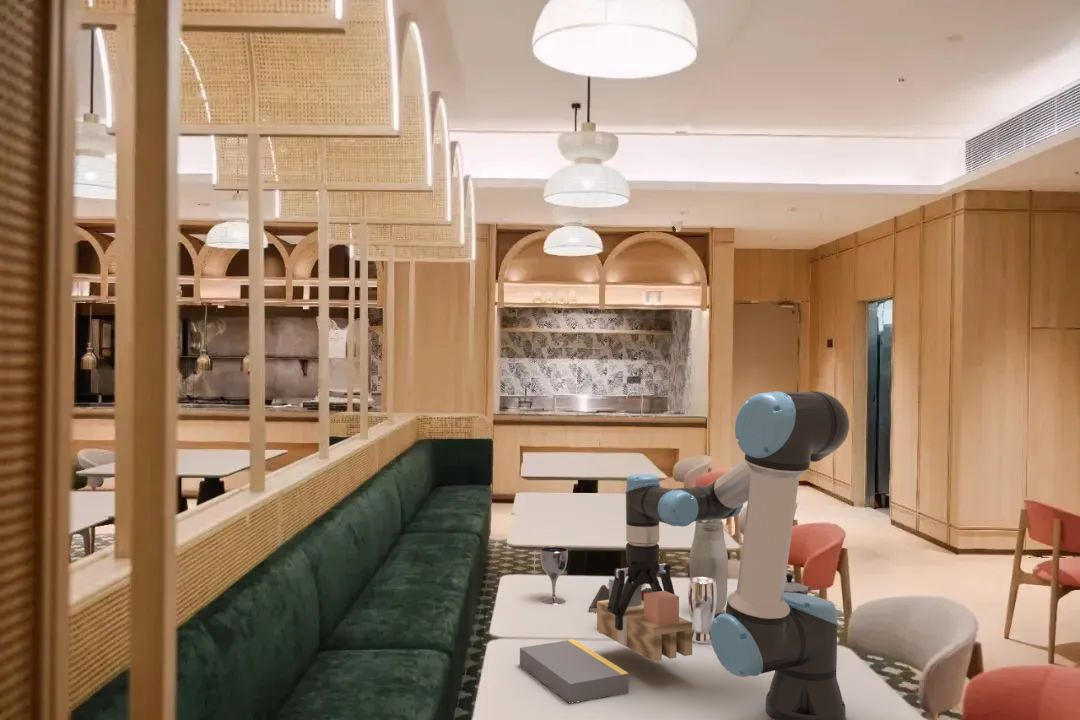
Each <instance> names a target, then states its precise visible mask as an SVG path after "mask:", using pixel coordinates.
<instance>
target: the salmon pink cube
mask: <svg viewBox="0 0 1080 720" xmlns="http://www.w3.org/2000/svg"><path fill="white" fill-rule="evenodd" d="M679 617H680V596H679V595H676V594H675V595H674V594H672V593H669V592H667V591H664V590H663V591H658V592H651V593H644V619H646V620H649V621H651V622H653V623H655V624H657V625H661V624H667V623H674V622H679Z"/></svg>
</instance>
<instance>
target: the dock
mask: <svg viewBox="0 0 1080 720" xmlns="http://www.w3.org/2000/svg"><path fill="white" fill-rule="evenodd" d="M519 667H521V668H522V669H524V670H525V671H527V672H528V673H529V674H530V675H532V676H533V677H534V678H536V679H537V680H538V681H539V682H541V683H542V684H544V685H545V686H546V687H548V689H550V691H551V690H552V692H554V693H555V694H556V695H557V696H559V695H560V696H561V697H560V696H559V697H560V698H562V699H563V698H564V699H565V700H564V699H563V700H564V701H566V700H567V701H568V702H570V703H572V702H577V701H582V700H587V701H590V700H589V699H592V700H595V699H594V698H598V699H600V698H599V697H603V698H606V697H605V696H608V697H610V696H609V695H613V696H616V695H615V694H618V695H622V694H621V693H623V694H626V693H627V692H629V691H630V689H629V687H630V684H629V683H630V681H629V680H630V673H629V672H628V671H626V670H624V669H622V668H621V667H619V665H616V664H615V663H613V662H611V661H609V660H608V659H606V658H604V656H601V655H600V654H598V653H596V652H595V651H593V650H592V649H590V648H589V647H587V646H585V645H584V644H583V643H580V642H578V641H577V640H576V639H567V640H561V641H555V642H554V641H553V642H548V643H542V644H535V645H529V646H522V647H519ZM627 694H628V693H627ZM567 701H566V702H567ZM568 702H567V703H568ZM582 702H583V701H582ZM570 703H569V704H570ZM577 703H578V702H577ZM572 704H573V703H572Z"/></svg>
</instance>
